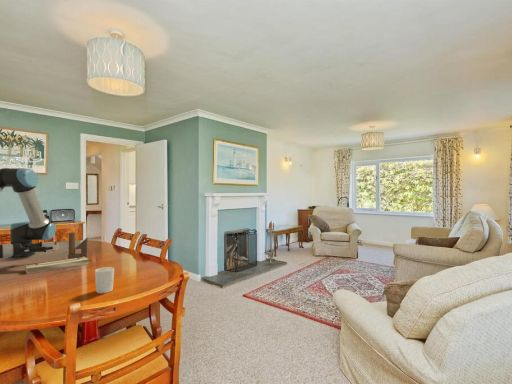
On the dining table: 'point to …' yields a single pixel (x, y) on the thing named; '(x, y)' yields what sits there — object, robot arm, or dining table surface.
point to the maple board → (56, 265)
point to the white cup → (104, 279)
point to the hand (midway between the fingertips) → (56, 245)
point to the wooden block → (81, 246)
